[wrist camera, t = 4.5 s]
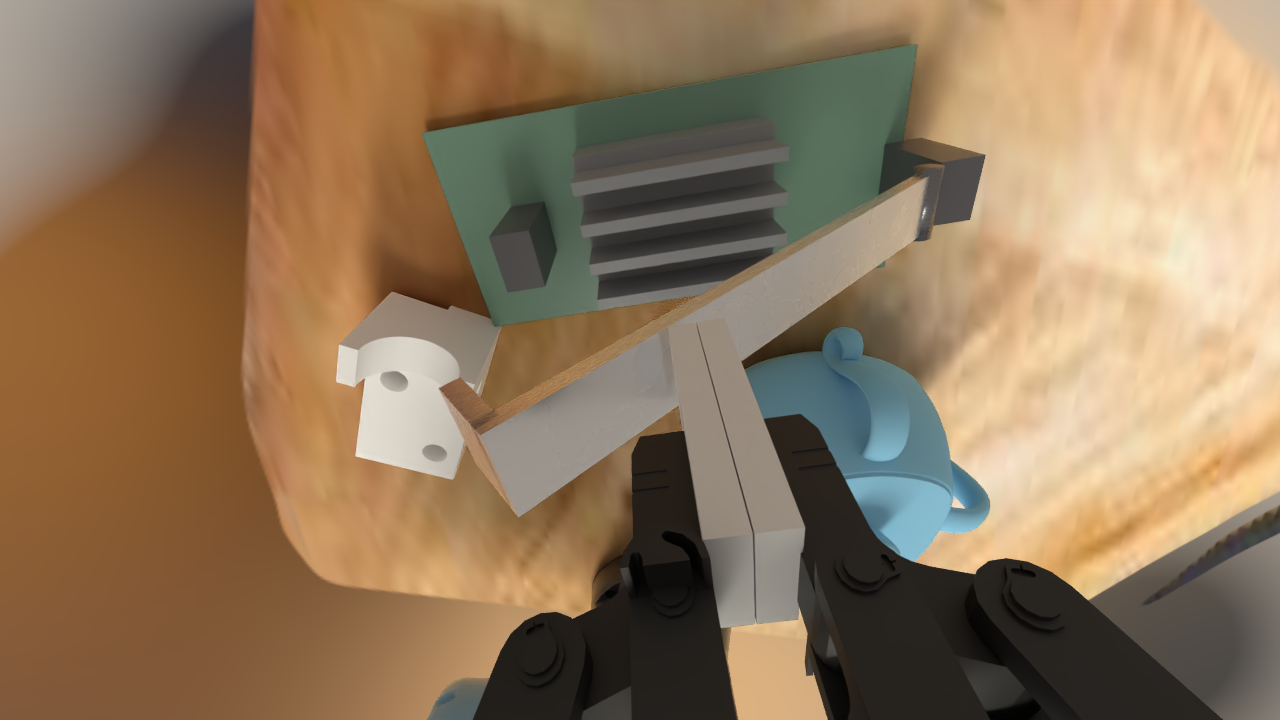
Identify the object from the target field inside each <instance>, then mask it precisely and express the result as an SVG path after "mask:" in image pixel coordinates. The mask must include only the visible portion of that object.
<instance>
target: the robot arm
mask: <svg viewBox="0 0 1280 720" xmlns="http://www.w3.org/2000/svg"><path fill="white" fill-rule="evenodd" d="M668 333H669V340H670V348H671V355H672V362H673V369H674V377H675V384H676V391H677V398H678V405H679V412H680V418H681V424H682V431H679V432H672V433H665V434H657V435H650V436H642V437H640V438H639V440H638V442H637V444H636V446H635V449H634V451H633V453H632V455H631V456H632V492H633V495H632V500H633V539H632V540H631V542H630V543H629V545H628V546H627V548H626V549H625V551H624V552H623V556H622V557H620V558H618V559H616V560H614V561H612V562H611V563H609V564H608V565H607V566H605V567H604V568H603V569H602V570H601V571H600V572H599V573H598V575H597V576H596V578H595V580H594V582H593V586H592V602H591V609H592V610H590V611H588V612H586V613H584V614H582V615H580V616H578V617H576V618H573V619H572V618H571V617H568V616H566V615H563V614H561V613H558V612H551V613H540V614H538V615H536V616H534V617H532V618H530V619H528V620H525V621H524V622H523V623H522V624H521V625H520V626H519V627H518V628H517V629H516V630H514V631H513V632H512V633H511V634H510V636H509V638H508V639H507V641H506V643H505V645H504V646H503V648H502V650H501V651H500V654H499V656H498V659H497V661H496V663H495V666H494V668H493V671H492V673H491V676H490V678H462V679H458V680H456V681H454V682H452V683H451V684H449V685H448V686H447V687H446V688H445V689H444V690H443V691H442V693H441V694H440V696H439V697H438V698H437V700H436V702H435V704H434V706H433V708H432V710H431V712H430V714H429V717H428V719H427V720H738V716H737V710H736V705H735V700H734V695H733V688H732V684H731V678H730V672H729V666H728V649H729V640H730V632H731V627H735V626H744V625H753V624H755V619H756V623H757V624H762V623H771V622H780V621H789V620H798V615H799V608H800V611H801V614H802V617H803V620H804V623H805V626H806V629H807V633H808V636H807V645H806V656H805V667H806V675H807V676H809V675H813V672H814V675H815V679H816V682H817V685H818V689H819V692H820V695H821V698H822V702H823V705H824V708H825V711H826V715H827V718H828V720H1223V719H1221V718H1220V717H1219V716H1218V715H1217V714H1216V713H1215V712H1213V711H1212V710H1211V709H1210V708H1209V707H1208V706H1207V705H1206V704H1204V703H1203V702H1202V701H1201V700H1200V699H1199V698H1198V697H1197V696H1195V695H1194V694H1193V693H1192V692H1191V691H1190V690H1188V689H1187V688H1186V687H1185V686H1184V685H1183V684H1182V683H1181V682H1180V681H1178V680H1177V679H1176V678H1175V677H1174V676H1173V675H1172V674H1170V673H1169V672H1168V671H1167V670H1166V669H1165V668H1164V667H1162V666H1161V665H1160V664H1159V663H1158V662H1157V661H1156V660H1155V659H1153V658H1152V657H1151V656H1150V655H1149V654H1148V653H1147V652H1145V651H1144V650H1143V649H1142V648H1141V647H1140V646H1139V645H1138V644H1137V643H1135V642H1134V641H1133V640H1132V639H1131V638H1130V637H1129V636H1127V635H1126V634H1125V633H1124V632H1123V631H1122V630H1121V629H1119V628H1118V627H1117V626H1116V625H1115V624H1114V623H1112V621H1110V620H1109V619H1108V618H1107V617H1106V616H1105V615H1103V613H1101V612H1100V611H1099V610H1098V609H1097V608H1096V607H1095V606H1093V605H1092V604H1091V603H1090V602H1089V601H1088V600H1087V599H1086V598H1084V597H1083V596H1082V595H1081V594H1080V593H1079V592H1078V591H1076V590H1075V589H1074V588H1073V587H1072V586H1070V585H1069V584H1068V583H1066V582H1065V581H1063V580H1062V579H1061V578H1059V577H1058V576H1056V575H1055V574H1053V573H1052V572H1050V571H1048V570H1046V569H1043V568H1041V567H1039V566H1036V565H1034V564H1032V563H1029V562H1026V561H1020V560H1014V559H1008V558H1005V559H999V560H992V561H988V562H987V563H986V564H984V565H983V566H982V567H980V568H979V569H978V570H977V572H976V574H970V573H964V572H958V571H953V570H947V569H942V568H936V567H931V566H927V565H923V564H919V563H915V562H913V561H911V560H908V559H906V558H904V557H902V556H900V555H898V554H897V553H896V552H895V551H893V550H892V549H890V548H889V547H888V546H886V545H885V544H884V543H882V542H881V541H880V540H879V539H878V538H877V536H876V535H875V534H874V532H873V531H872V529H871V528H870V526H869V524H868V522H867V520H866V518H865V516H864V515H863V513H862V511H861V509H860V507H859V505H858V503H857V501H856V499H855V497H854V495H853V493H852V492H851V490H850V488H849V486H848V484H847V482H846V480H845V478H844V476H843V474H842V472H841V471H840V469H839V467H837V464H836V461H835V459H834V457H833V455H832V453H831V451H829V449H828V446H827V444H826V442H825V440H824V438H823V436H822V434H821V432H820V430H819V428H817V427H816V426H815V425H814V424H813V423H811V422H810V421H809V420H808V419H806V418H805V417H804V416H803V415H802V414H794V415H787V416H780V417H772V418H765V419H763V417H762V414H761V411H760V409H759V406H758V404H757V401H756V398H755V396H754V393H753V391H752V388H751V386H750V383H749V380H748V378H747V375H746V373H745V370H744V367H743V365H742V362H741V360H740V357H739V354H738V352H737V349H736V347H735V344H734V341H733V339H732V336H731V334H730V331H729V328H728V326H727V323H726V321H725V318H721V319H714V320H708V321H701V322H697V326H696V323H695V322H694V323H688V324H681V325H674V326H668Z"/></svg>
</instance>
